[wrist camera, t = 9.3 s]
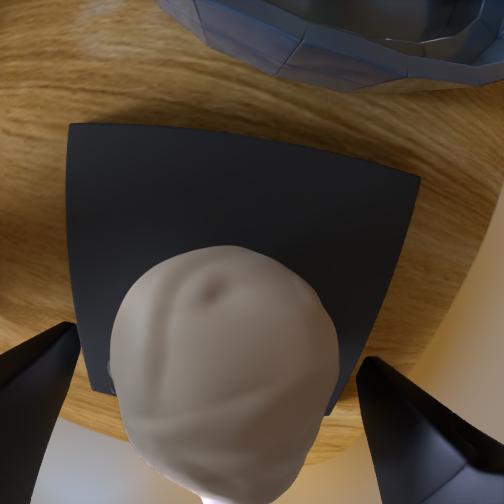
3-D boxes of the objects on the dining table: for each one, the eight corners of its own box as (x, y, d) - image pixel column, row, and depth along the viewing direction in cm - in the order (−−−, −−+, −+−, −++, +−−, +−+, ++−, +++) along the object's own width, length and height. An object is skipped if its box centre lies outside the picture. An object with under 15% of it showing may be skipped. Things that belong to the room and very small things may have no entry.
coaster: (411, 173, 10) (422, 177, 9) (326, 404, 14) (329, 416, 14) (79, 122, 9) (68, 123, 8) (96, 379, 13) (91, 390, 12)
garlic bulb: (120, 335, 11) (51, 519, 4) (181, 188, 9) (26, 402, 2) (265, 391, 13) (285, 563, 5) (354, 276, 11) (476, 471, 3)
